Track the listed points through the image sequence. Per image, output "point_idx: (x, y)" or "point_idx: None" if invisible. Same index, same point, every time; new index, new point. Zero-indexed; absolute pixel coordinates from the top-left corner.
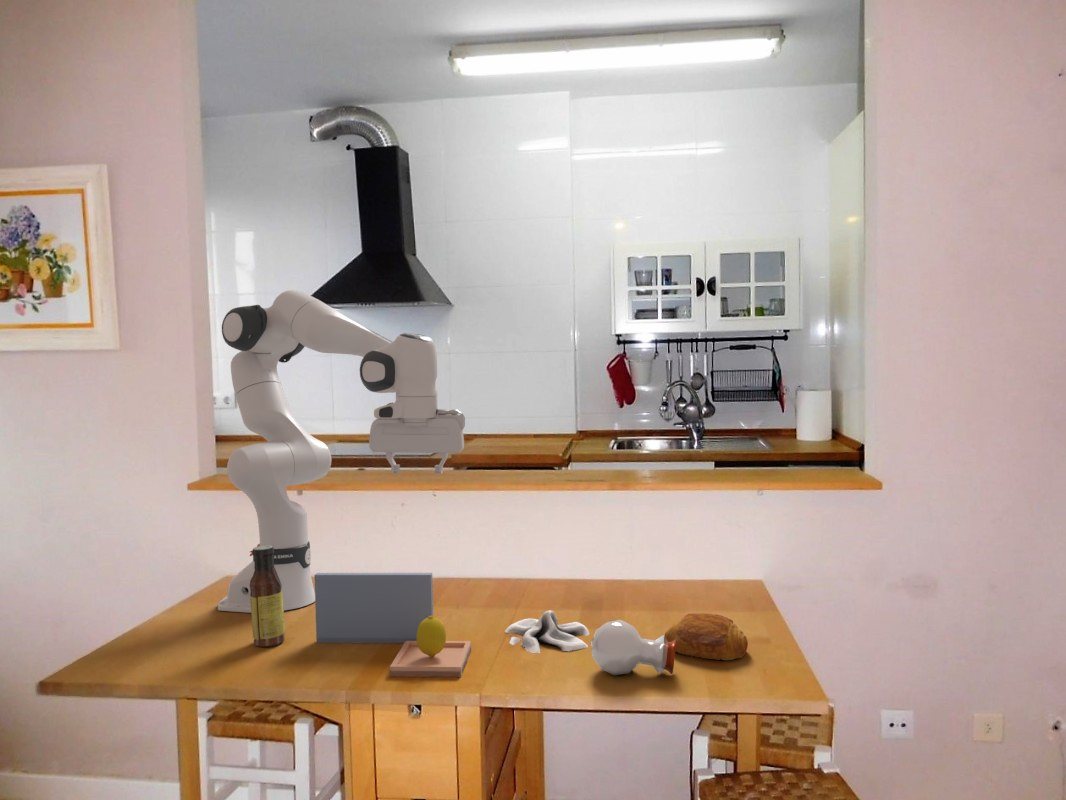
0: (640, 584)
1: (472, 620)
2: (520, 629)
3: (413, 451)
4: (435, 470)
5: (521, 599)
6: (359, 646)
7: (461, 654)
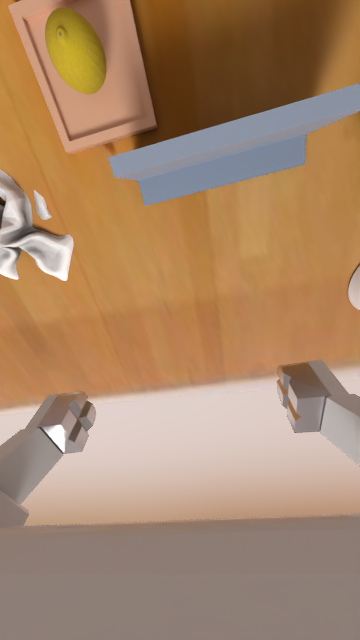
0: (27, 394)
1: (128, 266)
2: (47, 236)
3: (166, 534)
4: (70, 402)
5: (110, 340)
6: None
7: (44, 80)
